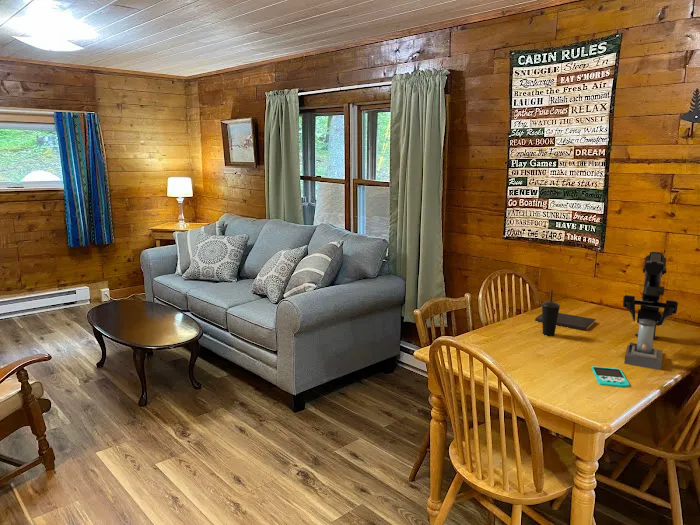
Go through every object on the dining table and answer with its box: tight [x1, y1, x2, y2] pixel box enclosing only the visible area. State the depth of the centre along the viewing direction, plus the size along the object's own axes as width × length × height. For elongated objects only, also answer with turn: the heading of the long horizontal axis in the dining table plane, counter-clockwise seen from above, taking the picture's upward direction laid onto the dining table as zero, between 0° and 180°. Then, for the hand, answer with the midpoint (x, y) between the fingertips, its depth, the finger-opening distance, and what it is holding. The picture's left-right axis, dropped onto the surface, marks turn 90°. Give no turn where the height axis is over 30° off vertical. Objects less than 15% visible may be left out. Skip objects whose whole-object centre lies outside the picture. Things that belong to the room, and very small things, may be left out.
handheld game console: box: [591, 365, 630, 388], centre depth 190 cm, size 10×16×1 cm, turn 165°
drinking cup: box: [541, 289, 561, 337], centre depth 234 cm, size 8×8×20 cm
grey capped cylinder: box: [636, 319, 655, 354], centre depth 202 cm, size 8×5×13 cm, turn 150°
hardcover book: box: [534, 312, 596, 332], centre depth 254 cm, size 16×23×2 cm
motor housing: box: [623, 342, 663, 371], centre depth 208 cm, size 20×12×6 cm, turn 150°
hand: (647, 322), depth 209 cm, fingers open, 9 cm apart
